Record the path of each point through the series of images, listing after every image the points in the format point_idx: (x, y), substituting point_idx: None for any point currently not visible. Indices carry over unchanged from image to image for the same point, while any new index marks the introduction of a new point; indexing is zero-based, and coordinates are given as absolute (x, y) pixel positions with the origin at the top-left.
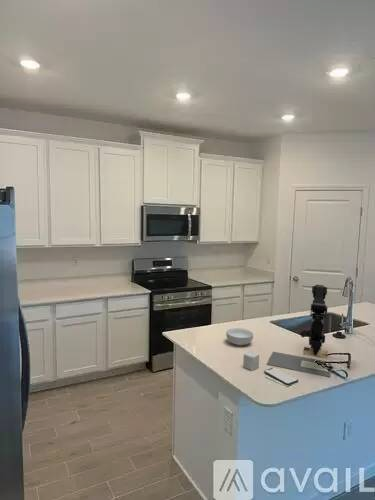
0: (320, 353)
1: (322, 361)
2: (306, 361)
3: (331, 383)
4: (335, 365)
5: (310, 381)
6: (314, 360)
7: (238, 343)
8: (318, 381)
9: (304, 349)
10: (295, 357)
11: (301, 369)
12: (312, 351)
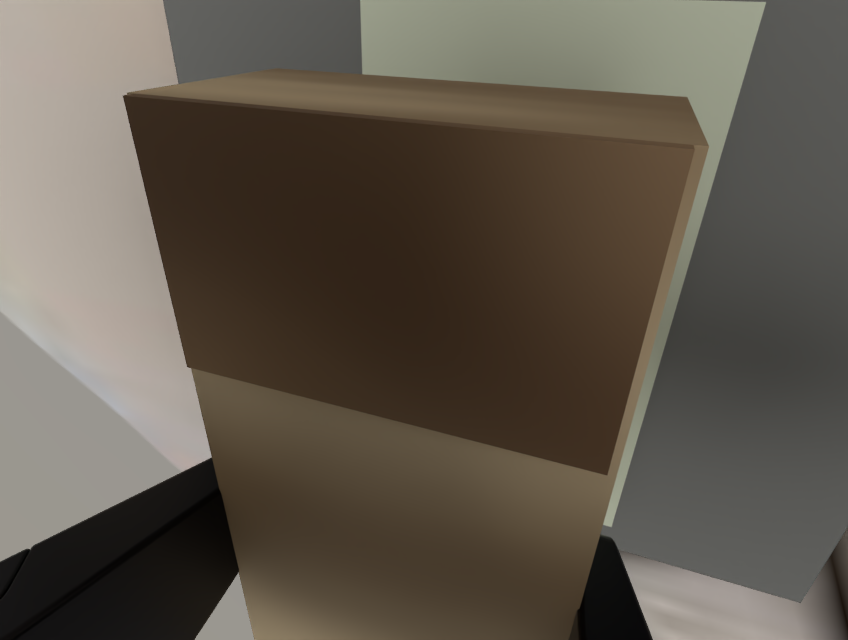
0: (254, 618)
1: (805, 482)
2: (707, 141)
3: (127, 408)
4: (693, 608)
5: (5, 185)
6: (843, 340)
7: None
8: (74, 283)
9: (202, 153)
10: None
11: (221, 32)
12: (234, 462)
